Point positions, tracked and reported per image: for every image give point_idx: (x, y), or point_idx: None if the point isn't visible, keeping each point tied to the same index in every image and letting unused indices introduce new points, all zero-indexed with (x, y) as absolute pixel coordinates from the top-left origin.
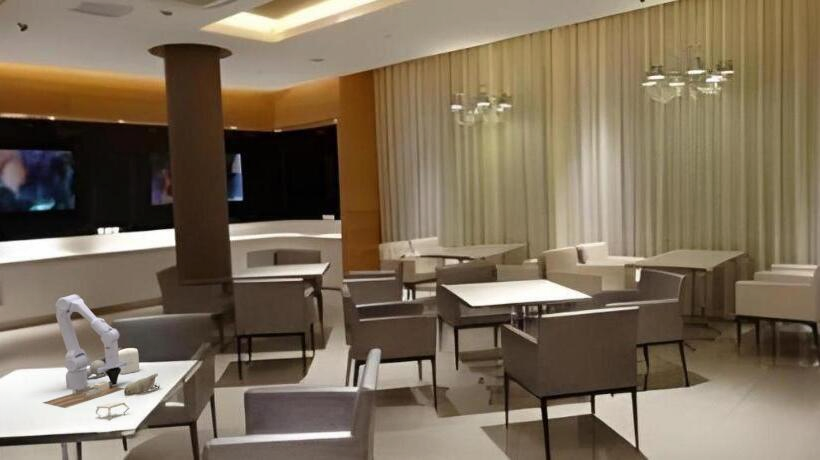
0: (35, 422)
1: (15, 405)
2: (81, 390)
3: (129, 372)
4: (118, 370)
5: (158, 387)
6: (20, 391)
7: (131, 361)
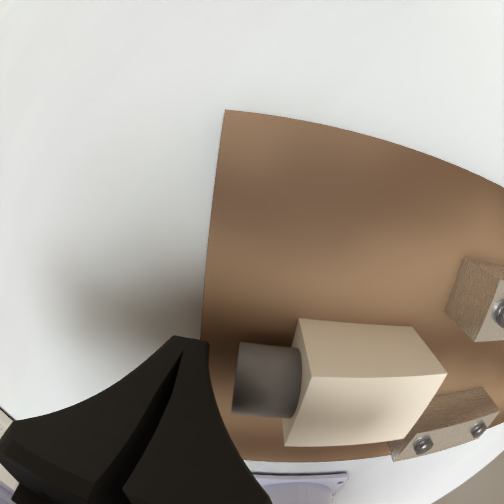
0: None
1: (483, 462)
2: (469, 413)
3: (4, 415)
4: (57, 460)
5: None
6: None
7: None
